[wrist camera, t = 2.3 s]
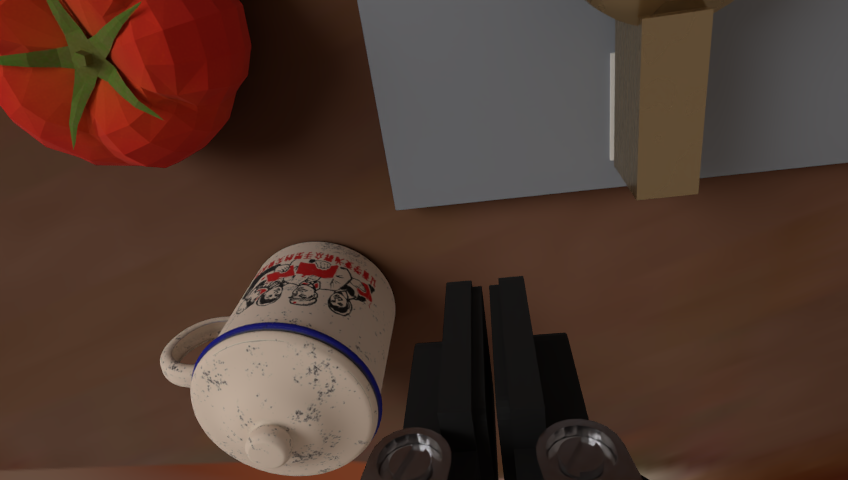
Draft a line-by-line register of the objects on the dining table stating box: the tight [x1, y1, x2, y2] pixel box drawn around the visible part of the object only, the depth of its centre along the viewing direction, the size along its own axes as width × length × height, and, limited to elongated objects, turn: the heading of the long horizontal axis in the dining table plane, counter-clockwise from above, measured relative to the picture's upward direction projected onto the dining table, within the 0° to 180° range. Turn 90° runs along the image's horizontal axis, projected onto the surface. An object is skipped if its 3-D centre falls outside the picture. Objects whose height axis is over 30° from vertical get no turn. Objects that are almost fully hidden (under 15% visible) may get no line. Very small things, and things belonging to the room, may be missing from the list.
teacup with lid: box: [160, 242, 395, 476], centre depth 29 cm, size 12×9×12 cm
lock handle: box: [584, 0, 734, 200], centre depth 21 cm, size 14×8×4 cm, turn 8°
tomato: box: [0, 0, 251, 168], centre depth 24 cm, size 11×11×8 cm
